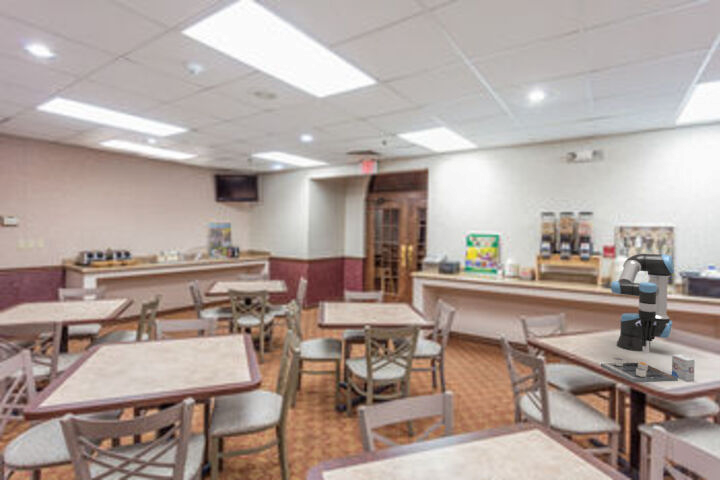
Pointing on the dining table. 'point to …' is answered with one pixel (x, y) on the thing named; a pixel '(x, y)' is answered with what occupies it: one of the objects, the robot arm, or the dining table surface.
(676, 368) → the ink box
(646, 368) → the breaker mid
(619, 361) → the breaker
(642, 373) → the breaker
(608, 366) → the panel
